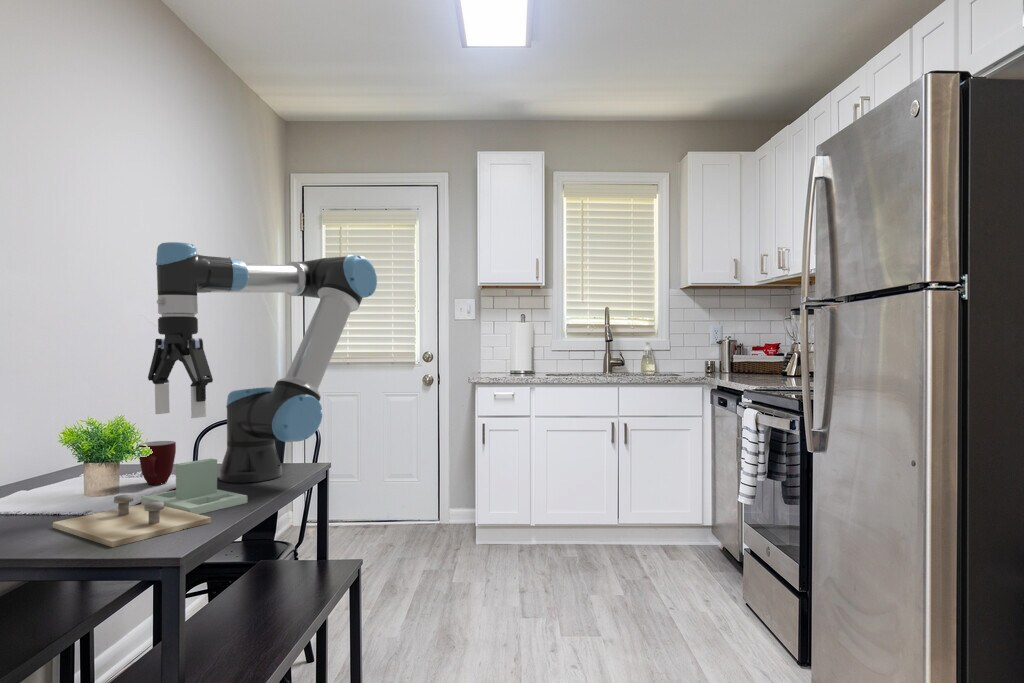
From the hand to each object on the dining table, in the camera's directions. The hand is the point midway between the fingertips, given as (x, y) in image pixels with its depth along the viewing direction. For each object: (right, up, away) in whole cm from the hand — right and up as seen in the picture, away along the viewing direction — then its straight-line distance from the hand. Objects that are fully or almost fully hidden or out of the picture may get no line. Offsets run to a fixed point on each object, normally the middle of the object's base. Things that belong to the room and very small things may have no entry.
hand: (180, 415), depth 136 cm
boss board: (-2, -19, -14) cm, 24 cm away
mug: (-17, -20, +21) cm, 34 cm away
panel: (+2, -19, +3) cm, 20 cm away
